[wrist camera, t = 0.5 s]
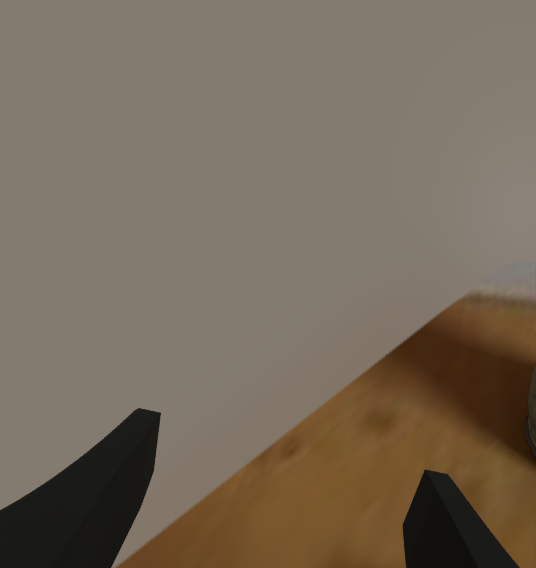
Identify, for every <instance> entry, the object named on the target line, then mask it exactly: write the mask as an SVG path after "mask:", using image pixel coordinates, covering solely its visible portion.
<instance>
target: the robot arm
mask: <svg viewBox="0 0 536 568" xmlns="http://www.w3.org/2000/svg"><path fill="white" fill-rule="evenodd" d="M160 415H161V413H159V412H155V411H150V410H145V409H141V408H138V409H137V410H135V411H134V412H132V414H130V415H129V416H128V417H127V418H126V419H125V420H124V421H123V422H122V423H121V424H120V425H118V426H117V427H116V428H115V429H114V430H113V431H112V432H111V433H109V434H108V435H107V436H106V437H105V438H104V439H102V440H101V441H100V442H99V443H98V444H96V445H95V446H94V447H93V448H92V449H90V450H89V451H88V452H87V453H85V454H84V455H83V456H82V457H80V458H79V459H78V460H77V461H75V462H74V463H73V464H71V465H70V466H69V467H67V468H65V469H64V470H63V471H62V472H60V473H59V474H57V475H56V476H55V477H53V478H52V479H50V480H49V481H47V482H46V483H44V484H43V485H41V486H40V487H38V488H37V489H35V490H34V491H32V492H30V493H29V494H27V495H26V496H24V497H22V498H21V499H19V500H18V501H16V502H14V503H12V504H11V505H9V506H7V507H5V508H4V509H2V510H0V568H111V567H112V565H113V563H114V561H115V559H116V557H117V554H118V553H119V551H120V548H121V546H122V544H123V542H124V540H125V538H126V536H127V534H128V532H129V530H130V528H131V526H132V524H133V522H134V520H135V518H136V516H137V514H138V512H139V510H140V508H141V505H142V502H143V499H144V497H145V494H146V491H147V488H148V486H149V483H150V480H151V477H152V475H153V472H154V465H155V457H156V448H157V440H158V432H159V424H160ZM403 536H404V550H405V560H406V568H520V567H519V566H518V565H517V564H516V563H515V562H514V560H513V559H512V558H511V557H510V555H509V554H508V553H507V552H506V550H505V549H504V548H503V547H502V545H501V544H500V543H499V542H498V540H497V539H496V538H495V536H494V535H493V534H492V533H491V531H490V530H489V529H488V527H487V526H486V525H485V523H484V522H483V521H482V519H481V518H480V517H479V515H478V514H477V513H476V511H475V510H474V509H473V507H472V506H471V505H470V503H469V502H468V501H467V499H466V498H465V497H464V495H463V494H462V492H461V491H460V490H459V488H458V487H457V486H456V484H455V483H454V482H453V480H452V479H451V478H450V477H449V475H448V474H444V473H439V472H435V471H430V470H425V471H424V473H423V476H422V478H421V481H420V483H419V486H418V488H417V491H416V493H415V496H414V498H413V501H412V503H411V506H410V508H409V510H408V513H407V515H406V518H405V520H404V523H403Z"/></svg>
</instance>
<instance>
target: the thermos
mask: <svg viewBox="0 0 536 568" xmlns="http://www.w3.org/2000/svg"><path fill="white" fill-rule="evenodd" d="M527 401H528V412H529V414H528V416H527V419H526V436H527V442H528V444H529V446H530V448H531V450H532V452H533V454H534V457H535V458H536V365H535V367H534V370H533V373H532V379H531V384H530V389H529V395H528V400H527Z"/></svg>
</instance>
